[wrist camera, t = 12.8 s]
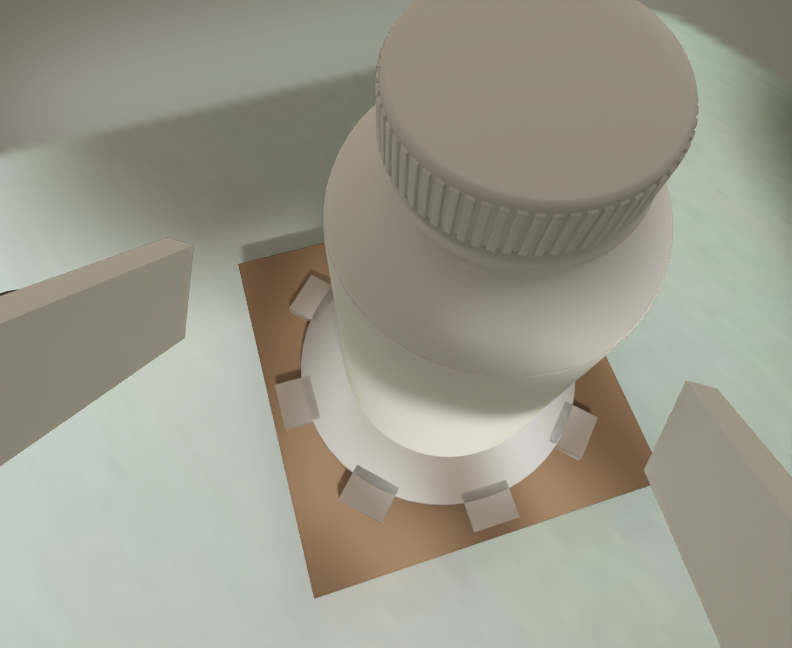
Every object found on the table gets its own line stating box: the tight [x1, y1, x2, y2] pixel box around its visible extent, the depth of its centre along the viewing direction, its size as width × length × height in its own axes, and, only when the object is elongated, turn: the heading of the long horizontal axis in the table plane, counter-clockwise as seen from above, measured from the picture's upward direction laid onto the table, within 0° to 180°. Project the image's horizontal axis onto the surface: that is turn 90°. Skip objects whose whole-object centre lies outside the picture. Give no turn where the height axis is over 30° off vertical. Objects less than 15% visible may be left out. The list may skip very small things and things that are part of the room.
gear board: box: [238, 243, 652, 599], centre depth 24 cm, size 14×14×2 cm
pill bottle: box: [323, 0, 698, 457], centre depth 16 cm, size 8×8×15 cm
